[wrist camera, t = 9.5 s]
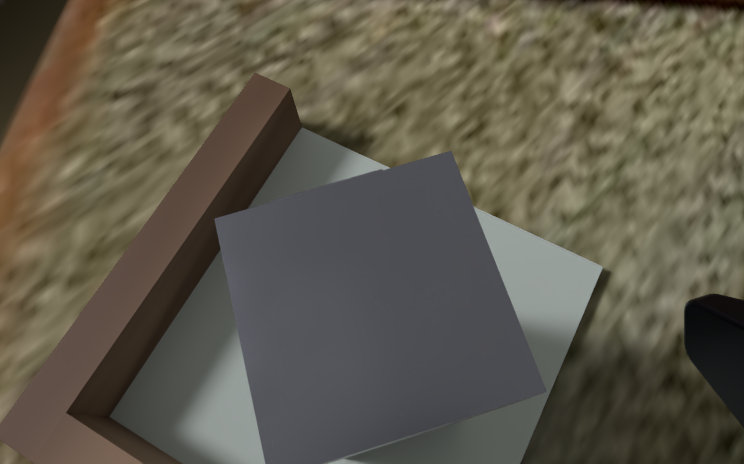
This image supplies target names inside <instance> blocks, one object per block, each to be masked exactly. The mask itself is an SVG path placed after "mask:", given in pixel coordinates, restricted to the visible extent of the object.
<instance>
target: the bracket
mask: <svg viewBox="0 0 744 464" xmlns="http://www.w3.org/2000/svg"><path fill="white" fill-rule="evenodd" d="M215 224H216V229H217V234H218V239H219V243H220V248H221V253H222V258H223V263H224V267H225V272H226V277H227V282H228V287H229V292H230V296H231V301H232V306H233V311H234V316H235V320H236V325H237V330H238V335H239V340H240V344H241V349H242V354H243V359H244V364H245V368H246V373H247V378H248V383H249V388H250V392H251V397H252V402H253V407H254V412H255V416H256V421H257V426H258V431H259V436H260V440H261V445H262V450H263V455H264V460H265V464H328V463H331V462H335V461H338V460H342V459H345V458H348V457H351V456H354V455H357V454H361V453H364V452H367V451H370V450H373V449H376V448H379V447H383V446H386V445H389V444H392V443H395V442H398V441H401V440H405V439H408V438H411V437H414V436H417V435H420V434H423V433H427V432H430V431H433V430H436V429H439V428H442V427H445V426H449V425H452V424H455V423H458V422H461V421H464V420H467V419H470V418H473V417H476V416H479V415H482V414H485V413H488V412H490V411H493V410H496V409H499V408H502V407H505V406H508V405H511V404H514V403H517V402H520V401H523V400H526V399H528V398H531V397H534V396H537V395H540V394H543V393H546V392H547V390H546V388H545V385H544V383H543V380H542V378H541V375H540V373H539V370H538V368H537V365H536V363H535V360H534V358H533V355H532V353H531V350H530V348H529V345H528V343H527V340H526V338H525V335H524V333H523V330H522V328H521V325H520V322H519V320H518V317H517V315H516V312H515V310H514V307H513V305H512V302H511V300H510V297H509V295H508V292H507V290H506V287H505V285H504V282H503V280H502V277H501V275H500V272H499V270H498V267H497V265H496V262H495V260H494V257H493V255H492V252H491V250H490V247H489V245H488V242H487V240H486V237H485V234H484V232H483V229H482V227H481V224H480V222H479V219H478V217H477V214H476V212H475V209H474V207H473V204H472V202H471V199H470V197H469V194H468V192H467V189H466V187H465V184H464V182H463V179H462V177H461V174H460V172H459V169H458V167H457V164H456V162H455V159H454V157H453V154H452V152H451V151H449V152H445V153H442V154H438V155H435V156H431V157H428V158H424V159H421V160H417V161H414V162H410V163H407V164H403V165H400V166H396V167H393V168H389V169H386V170H382V169H379V170H376V171H372V172H369V173H365V174H362V175H358V176H355V177H351V178H348V179H344V180H341V181H337V182H334V183H330V184H327V185H324V186H320V187H317V188H313V189H310V190H306V191H303V192H299V193H296V194H292V195H289V196H285V197H282V198H278V199H275V200H273V202H271V203H267V204H264V205H260V206H257V207H253V208H250V209H246V210H243V211H239V212H236V213H232V214H229V215H225V216H222V217H218V218H215Z"/></svg>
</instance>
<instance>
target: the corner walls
mask: <svg viewBox="0 0 744 464" xmlns="http://www.w3.org/2000/svg"><path fill="white" fill-rule="evenodd" d="M301 128H302V126H301V123H300V119H299V116H298V113H297V109H296V106H295V103H294V100H293V96H292V93H291V90H290V88H288V87H286V86H283V85H281V84H279V83H277V82H275V81H272V80H270V79H268V78H266V77H263V76H261V75H259V74H257V73H254V75H253V76H252V78H251V79H250V80H249V82H248V83H247V84H246V86H245V87H244V89H243V90H242V91H241V93H240V94H239V95H238V97H237V98H236V100H235V101H234V102H233V104H232V105H231V107H230V108H229V109H228V111H227V112H226V113H225V115H224V116H223V118H222V119H221V120H220V122H219V123H218V124H217V126H216V127H215V129H214V130H213V131H212V133H211V134H210V135H209V137H208V138H207V140H206V141H205V142H204V144H203V145H202V147H201V148H200V149H199V151H198V152H197V153H196V155H195V156H194V158H193V159H192V160H191V162H190V163H189V164H188V166H187V167H186V169H185V170H184V171H183V173H182V174H181V176H180V177H179V178H178V180H177V181H176V182H175V184H174V185H173V187H172V188H171V189H170V191H169V192H168V193H167V195H166V196H165V198H164V199H163V200H162V202H161V203H160V204H159V206H158V207H157V209H156V210H155V211H154V213H153V214H152V216H151V217H150V218H149V220H148V221H147V222H146V224H145V225H144V227H143V228H142V229H141V231H140V232H139V233H138V235H137V236H136V238H135V239H134V240H133V242H132V243H131V245H130V246H129V247H128V249H127V250H126V251H125V253H124V254H123V256H122V257H121V258H120V260H119V261H118V262H117V264H116V265H115V267H114V268H113V269H112V271H111V272H110V273H109V275H108V276H107V278H106V279H105V280H104V282H103V283H102V285H101V286H100V287H99V289H98V290H97V291H96V293H95V294H94V296H93V297H92V298H91V300H90V301H89V302H88V304H87V305H86V307H85V308H84V309H83V311H82V312H81V314H80V315H79V316H78V318H77V319H76V320H75V322H74V323H73V325H72V326H71V327H70V329H69V330H68V331H67V333H66V334H65V336H64V337H63V338H62V340H61V341H60V343H59V344H58V345H57V347H56V348H55V349H54V351H53V352H52V354H51V355H50V356H49V358H48V359H47V360H46V362H45V363H44V365H43V366H42V367H41V369H40V370H39V371H38V373H37V374H36V376H35V377H34V378H33V380H32V381H31V383H30V384H29V385H28V387H27V388H26V389H25V391H24V392H23V394H22V395H21V396H20V398H19V399H18V400H17V402H16V403H15V405H14V406H13V407H12V409H11V410H10V412H9V413H8V414H7V416H6V417H5V418H4V420H3V421H2V423H1V424H0V440H1V441H2V442H4V443H5V444H7V445H8V446H10V447H11V448H13V449H14V450H15V451H17V452H18V453H20V454H21V455H23V456H24V457H26V458H27V459H29V460H30V461H31V462H33V463H34V464H182V463H180V462H179V461H177V460H176V459H174V458H173V457H171V456H170V455H168V454H166V453H165V452H163V451H162V450H160V449H159V448H157V447H156V446H154V445H152V444H151V443H149V442H148V441H146V440H145V439H143V438H142V437H140V436H138V435H137V434H135V433H134V432H132V431H131V430H129V429H128V428H126V427H125V426H123V425H121V424H120V423H118V422H117V421H115V420H114V419H112V418H111V417H109V416H110V415H111V413H112V412H113V410H114V409H115V407H116V406H117V404H118V403H119V401H120V400H121V398H122V397H123V395H124V394H125V392H126V391H127V389H128V388H129V386H130V385H131V383H132V382H133V380H134V379H135V377H136V376H137V374H138V373H139V371H140V370H141V368H142V367H143V365H144V364H145V362H146V361H147V359H148V358H149V356H150V355H151V353H152V352H153V350H154V349H155V347H156V346H157V344H158V343H159V341H160V340H161V338H162V337H163V335H164V334H165V332H166V331H167V329H168V328H169V326H170V325H171V323H172V322H173V320H174V319H175V317H176V316H177V314H178V313H179V311H180V310H181V308H182V307H183V305H184V304H185V302H186V301H187V299H188V298H189V296H190V295H191V293H192V292H193V290H194V289H195V287H196V286H197V284H198V283H199V281H200V280H201V278H202V277H203V275H204V274H205V272H206V271H207V269H208V268H209V266H210V265H211V263H212V262H213V260H214V259H215V257H216V256H217V254H218V253H219V251H220V250H221V248H220V243H219V239H218V234H217V229H216V224H215V218H218V217H222V216H225V215H229V214H232V213H236V212H239V211H243V210H246V209H248V208H249V206H250V205H251V203H252V202H253V200H254V199H255V197H256V196H257V194H258V193H259V191H260V189H261V188H262V186H263V185H264V183H265V182H266V180H267V179H268V177H269V176H270V174H271V173H272V171H273V170H274V168H275V167H276V165H277V164H278V162H279V161H280V159H281V158H282V156H283V155H284V153H285V152H286V150H287V149H288V147H289V146H290V144H291V143H292V141H293V140H294V138H295V137H296V135H297V134H298V132H299V131H300V129H301Z"/></svg>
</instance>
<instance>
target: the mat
mask: <svg viewBox="0 0 744 464" xmlns="http://www.w3.org/2000/svg"><path fill="white" fill-rule="evenodd" d="M379 169H382V170H386V169H389V167H387V166H384V165H382V164H380V163H378V162H376V161H374V160H371V159H369V158H367V157H365V156H363V155H361V154H359V153H356V152H354V151H352V150H350V149H348V148H346V147H343V146H341V145H339V144H337V143H335V142H333V141H330V140H328V139H326V138H324V137H322V136H320V135H318V134H315V133H313V132H311V131H309V130H307V129H305V128H301V129H300V131H299V132H298V134H297V135H296V137H295V138H294V140H293V141H292V143H291V144H290V146H289V147H288V149H287V150H286V152H285V153H284V155H283V156H282V158H281V159H280V161H279V162H278V164H277V165H276V167H275V168H274V170H273V171H272V173H271V174H270V176H269V177H268V179H267V180H266V182H265V183H264V185H263V186H262V188H261V189H260V191H259V193H258V194H257V196H256V197H255V199H254V200H253V202H252V203H251V205H250V206H249V208H248V209H250V208H253V207H257V206H260V205H264V204H267V203H271V202H273V200H275V199H278V198H282V197H285V196H289V195H292V194H296V193H299V192H303V191H306V190H310V189H313V188H317V187H320V186H324V185H327V184H330V183H334V182H337V181H341V180H344V179H348V178H351V177H355V176H358V175H362V174H365V173H369V172H372V171H376V170H379ZM474 209H475V212H476V214H477V217H478V219H479V222H480V224H481V227H482V229H483V232H484V234H485V237H486V240H487V242H488V245H489V247H490V250H491V252H492V255H493V257H494V260H495V262H496V265H497V267H498V270H499V272H500V275H501V277H502V280H503V282H504V285H505V287H506V290H507V292H508V295H509V297H510V300H511V302H512V305H513V307H514V310H515V312H516V315H517V317H518V320H519V322H520V325H521V328H522V330H523V333H524V335H525V338H526V340H527V343H528V345H529V348H530V350H531V353H532V355H533V358H534V360H535V363H536V365H537V368H538V370H539V373H540V375H541V378H542V380H543V383H544V385H545V388H546V390H547V392H546V393H543V394H540V395H537V396H534V397H531V398H528V399H526V400H523V401H520V402H517V403H514V404H511V405H508V406H505V407H502V408H499V409H496V410H493V411H490V412H488V413H485V414H482V415H479V416H476V417H473V418H470V419H467V420H464V421H461V422H458V423H455V424H452V425H449V426H445V427H442V428H439V429H436V430H433V431H430V432H427V433H423V434H420V435H417V436H414V437H411V438H408V439H405V440H401V441H398V442H395V443H392V444H389V445H386V446H383V447H379V448H376V449H373V450H370V451H367V452H364V453H361V454H357V455H354V456H351V457H348V458H345V459H342V460H338V461H335V462H331V463H328V464H520V463H521V461H522V458H523V456H524V454H525V451H526V449H527V446H528V444H529V442H530V439H531V437H532V435H533V432H534V430H535V427H536V425H537V423H538V420H539V418H540V416H541V413H542V411H543V408H544V406H545V404H546V401H547V399H548V397H549V394H550V392H551V389H552V387H553V385H554V382H555V380H556V377H557V375H558V373H559V370H560V368H561V366H562V363H563V361H564V358H565V356H566V354H567V351H568V349H569V347H570V344H571V342H572V339H573V337H574V335H575V332H576V330H577V328H578V325H579V323H580V320H581V318H582V316H583V313H584V311H585V309H586V306H587V304H588V301H589V299H590V297H591V294H592V292H593V290H594V287H595V285H596V282H597V280H598V278H599V275H600V273H601V271H602V268H603V267H602V266H600V265H598V264H596V263H594V262H592V261H589V260H587V259H585V258H583V257H581V256H579V255H576V254H574V253H572V252H570V251H568V250H566V249H564V248H561V247H559V246H557V245H555V244H553V243H551V242H548V241H546V240H544V239H542V238H540V237H538V236H535V235H533V234H531V233H529V232H527V231H525V230H523V229H520V228H518V227H516V226H514V225H512V224H510V223H507V222H505V221H503V220H501V219H499V218H497V217H494V216H492V215H490V214H488V213H486V212H484V211H482V210H479V209H477V208H475V207H474ZM109 417H111V418H112V419H114V420H115V421H117V422H118V423H120V424H121V425H123V426H125V427H126V428H128V429H129V430H131V431H132V432H134V433H135V434H137V435H138V436H140V437H142V438H143V439H145V440H146V441H148V442H149V443H151V444H152V445H154V446H156V447H157V448H159V449H160V450H162V451H163V452H165V453H166V454H168V455H170V456H171V457H173V458H174V459H176V460H177V461H179V462H180V463H182V464H265V460H264V455H263V450H262V445H261V440H260V436H259V431H258V426H257V421H256V416H255V412H254V407H253V402H252V397H251V392H250V388H249V383H248V378H247V373H246V368H245V364H244V359H243V354H242V349H241V344H240V340H239V335H238V330H237V325H236V320H235V316H234V311H233V306H232V301H231V296H230V292H229V287H228V282H227V277H226V272H225V267H224V263H223V258H222V253H221V250H220V251H219V253H218V254H217V256H216V257H215V259H214V260H213V262H212V263H211V265H210V266H209V268H208V269H207V271H206V272H205V274H204V275H203V277H202V278H201V280H200V281H199V283H198V284H197V286H196V287H195V289H194V290H193V292H192V293H191V295H190V296H189V298H188V299H187V301H186V302H185V304H184V305H183V307H182V308H181V310H180V311H179V313H178V314H177V316H176V317H175V319H174V320H173V322H172V323H171V325H170V326H169V328H168V329H167V331H166V332H165V334H164V335H163V337H162V338H161V340H160V341H159V343H158V344H157V346H156V347H155V349H154V350H153V352H152V353H151V355H150V356H149V358H148V359H147V361H146V362H145V364H144V365H143V367H142V368H141V370H140V371H139V373H138V374H137V376H136V377H135V379H134V380H133V382H132V383H131V385H130V386H129V388H128V389H127V391H126V392H125V394H124V395H123V397H122V398H121V400H120V401H119V403H118V404H117V406H116V407H115V409H114V410H113V412H112V413H111V415H110V416H109Z"/></svg>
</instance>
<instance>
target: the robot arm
mask: <svg viewBox="0 0 744 464" xmlns="http://www.w3.org/2000/svg"><path fill="white" fill-rule="evenodd" d="M684 344H685V349H686V352H687V355H688V356H689V358H690V360H691V361H692V363H693V364H694V365H695V366H696V368H697V369H698V370H699V371H700V373H701V374H702V375H703V377H704V378H705V379H706V380H707V382H708V383H709V384H710V385H711V387H712V388H713V389H714V391H715V392H716V393H717V394H718V396H719V397H720V398H721V399H722V401H723V402H724V403H725V405H726V406H727V407H728V408H729V410H730V411H731V412H732V413H733V415H734V416H735V417H736V419H737V420H738V421H739V422H740V424H741V425H742V426H743V427H744V300H741V299H736V298H732V297H728V296H724V295H719V294H708V295H705V296H701V297H698V298H695V299H692V300H690V301H688V302H687V303H686V305H685V309H684Z"/></svg>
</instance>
